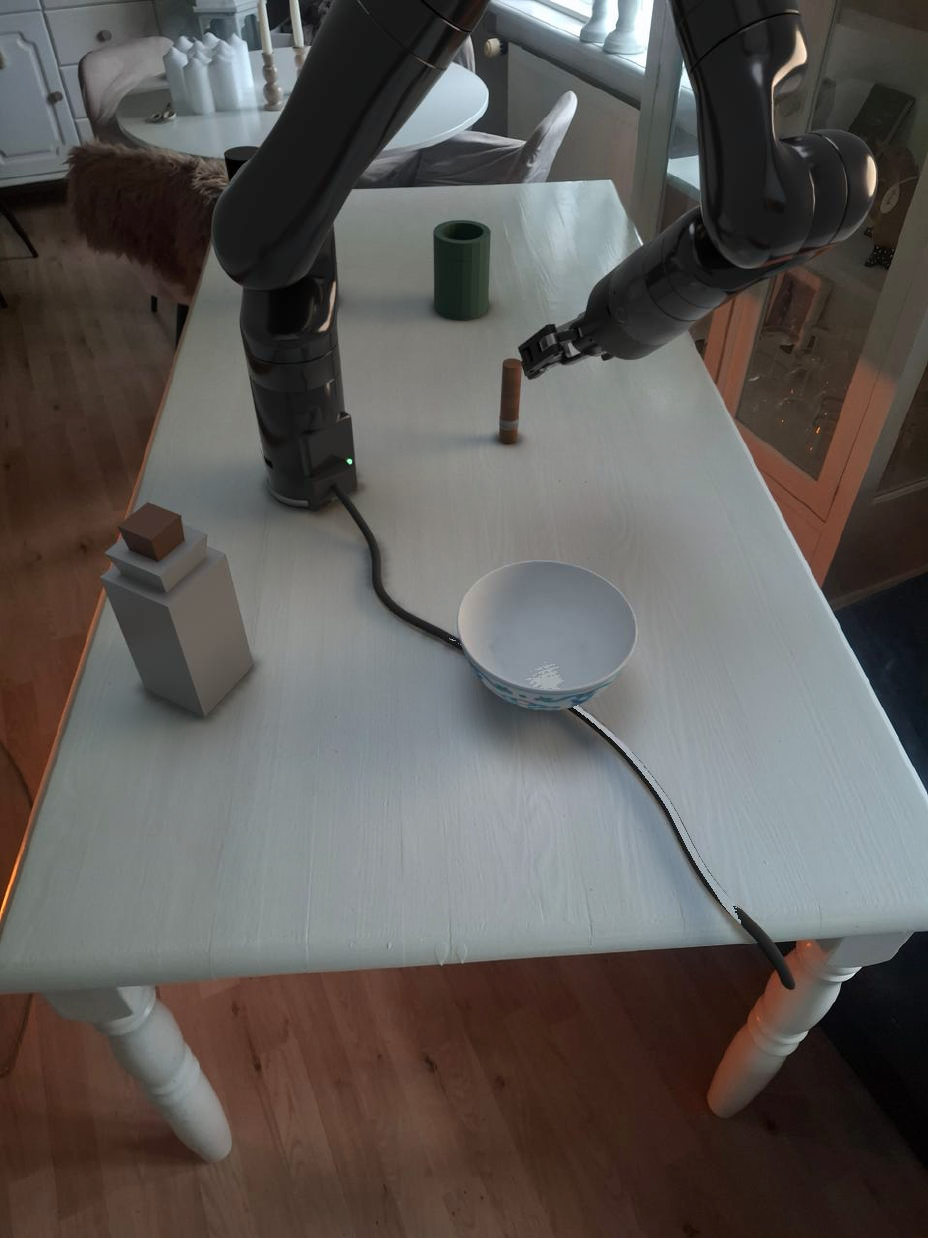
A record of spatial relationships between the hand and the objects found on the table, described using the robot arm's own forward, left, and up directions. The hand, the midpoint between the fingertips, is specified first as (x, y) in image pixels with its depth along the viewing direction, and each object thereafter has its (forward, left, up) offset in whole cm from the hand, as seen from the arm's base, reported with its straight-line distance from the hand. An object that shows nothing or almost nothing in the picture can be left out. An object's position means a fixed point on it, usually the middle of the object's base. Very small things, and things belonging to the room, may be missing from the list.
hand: (565, 360), depth 85 cm
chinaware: (-17, +22, -16) cm, 32 cm away
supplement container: (+84, -22, -16) cm, 88 cm away
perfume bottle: (+5, +43, -16) cm, 46 cm away
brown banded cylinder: (+10, -4, -16) cm, 19 cm away
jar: (+37, -24, -16) cm, 46 cm away
